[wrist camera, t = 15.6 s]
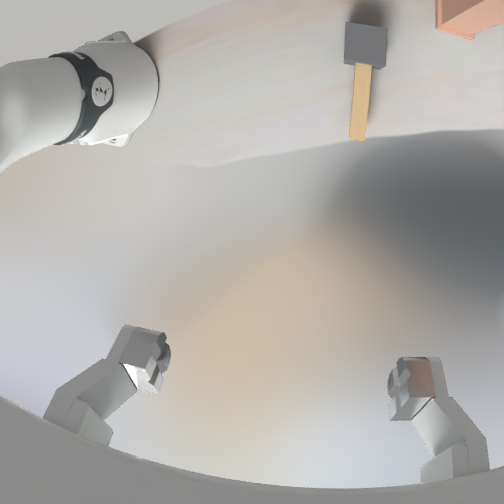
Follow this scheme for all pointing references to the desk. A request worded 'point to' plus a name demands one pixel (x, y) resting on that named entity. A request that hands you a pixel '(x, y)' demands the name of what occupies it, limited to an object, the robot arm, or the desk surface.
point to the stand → (468, 16)
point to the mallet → (363, 69)
